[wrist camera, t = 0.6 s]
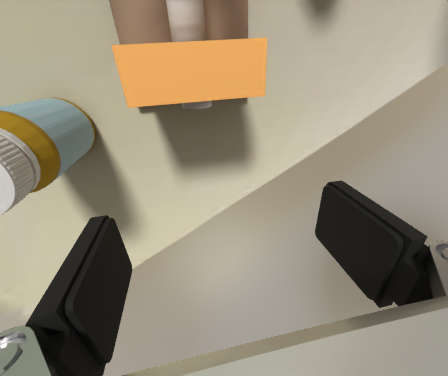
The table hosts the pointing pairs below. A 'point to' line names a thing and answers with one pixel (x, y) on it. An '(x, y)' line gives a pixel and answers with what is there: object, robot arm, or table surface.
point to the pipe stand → (180, 23)
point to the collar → (191, 71)
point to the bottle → (39, 145)
